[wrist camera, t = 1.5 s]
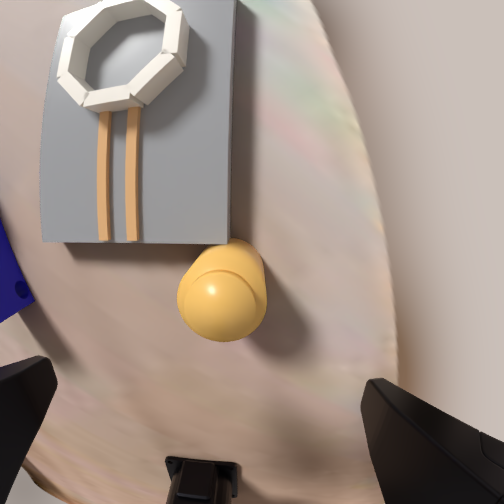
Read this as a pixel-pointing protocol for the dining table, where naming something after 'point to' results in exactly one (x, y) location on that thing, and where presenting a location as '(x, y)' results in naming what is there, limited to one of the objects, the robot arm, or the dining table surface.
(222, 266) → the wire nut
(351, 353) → the dining table surface
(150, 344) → the dining table surface
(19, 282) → the cable clip
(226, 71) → the plate
